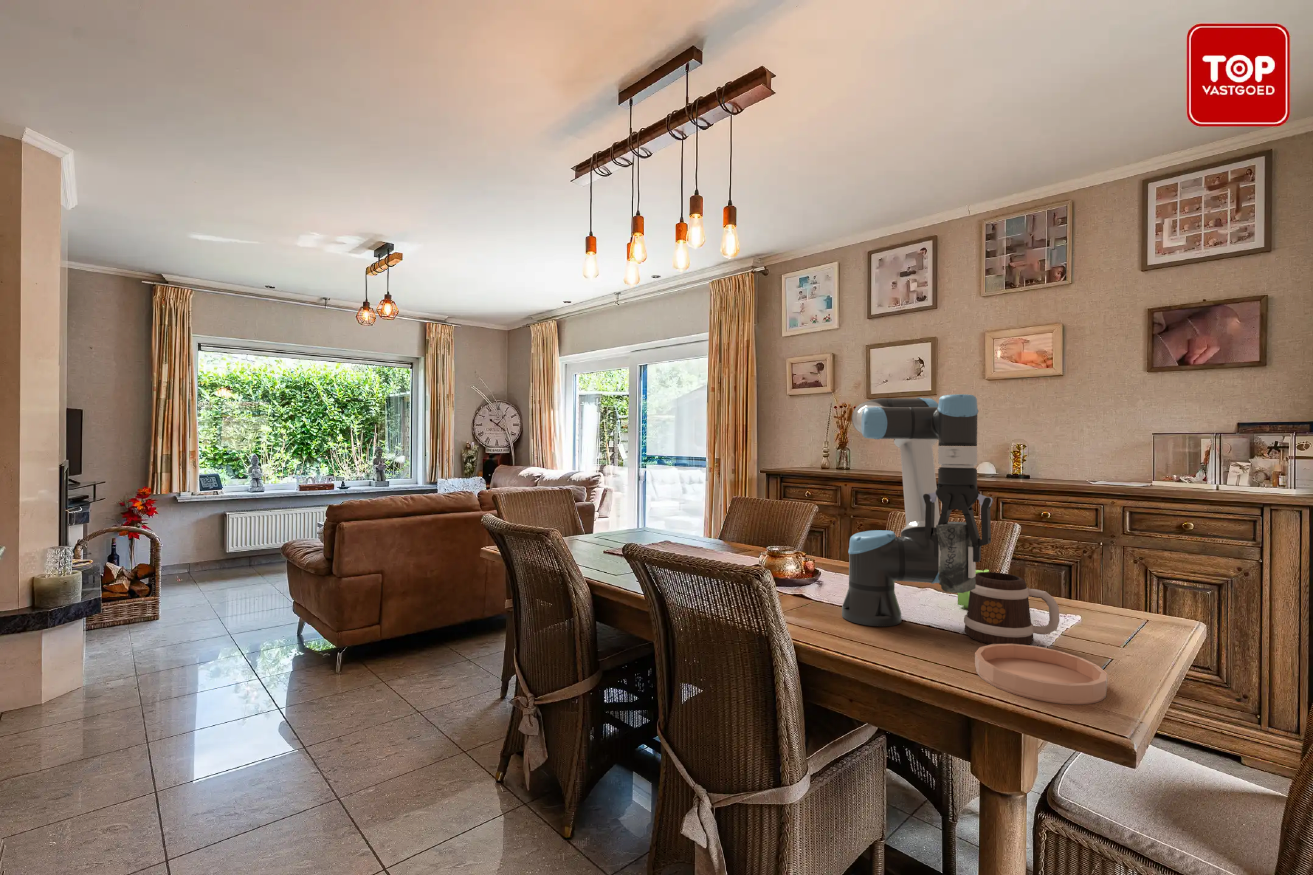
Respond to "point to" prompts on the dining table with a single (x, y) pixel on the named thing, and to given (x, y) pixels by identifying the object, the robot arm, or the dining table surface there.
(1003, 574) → the mug
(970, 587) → the stone block
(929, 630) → the dining table surface
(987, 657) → the dish
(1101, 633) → the dining table surface
